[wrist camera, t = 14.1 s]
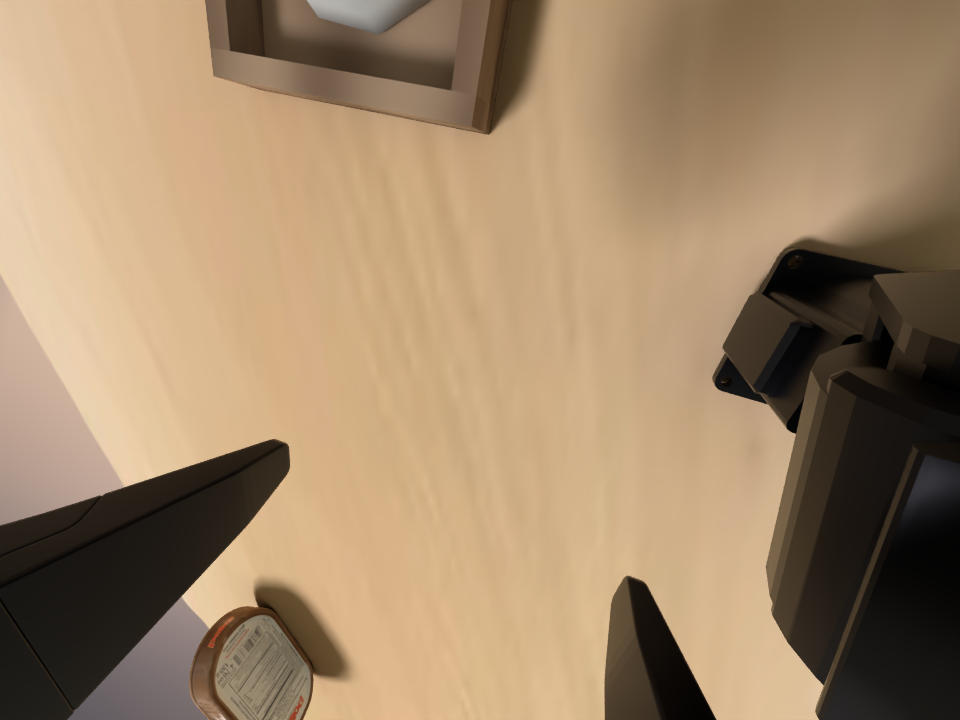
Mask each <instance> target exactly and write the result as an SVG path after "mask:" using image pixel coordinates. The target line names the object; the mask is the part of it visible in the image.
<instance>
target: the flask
mask: <svg viewBox="0 0 960 720" xmlns="http://www.w3.org/2000/svg"><path fill="white" fill-rule="evenodd" d="M307 1H308V3H309V4H310V6H311V7H312V9H313V10H314V12H315V13H316V15H317V16H318V17H319V18H322V19H326V20H329V21H332V22H336V23H339V24H343V25H346V26H350V27H353V28H356V29H360V30H363V31H367V32H370V33H374V34H377V35H379V34H381V33H382V32H384V31H385V30H387V29H388V28H390V27H391V26H393V25H394V24H395V23H397V22H398V21H400V20H401V19H403V18H404V17H406V16H407V15H409V14H410V13H412V12H413V11H415V10H416V9H418V8H419V7H420V6H422V5H423V4H425V3H426V2H428V1H429V0H307Z"/></svg>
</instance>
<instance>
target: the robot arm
mask: <svg viewBox="0 0 960 720" xmlns="http://www.w3.org/2000/svg"><path fill="white" fill-rule="evenodd" d="M793 256H798V258H799V260H798V263H797V264H796V265H794V266H792V267H788V265H787V263H788V260H789V259H790V258H791V257H793ZM723 350H724V352H725V354H724V356H723V358H722V360H721V362H720V364H719V365H718V367H717V369H716V371H715V373H714V375H713V378H712V379H713V383H714V384H715V386H716V387H717V389H719V390H721V391H724V392H727V393H730V394H734V395H737V396H741V397H744V398H748V399H751V400H755V401H758V402H762V403H765V404H768V405H769V406H770V407H771V409H772V410H773V411H774V413H775V414H776V415H777V416H778V418H779V419H780V420H781V422H782V423H783V424H784V426H785V427H786V428H787V429H788V430H789V431H790V432H792V433H795V434H796V437H795V441H794V446H793V450H792V454H791V459H790V463H789V468H788V472H787V476H786V481H785V485H784V490H783V494H782V498H781V503H780V507H779V512H778V516H777V520H776V525H775V529H774V534H773V538H772V542H771V547H770V551H769V556H768V560H767V564H766V571H767V578H768V586H769V593H770V597H771V600H772V602H773V605H772V609H771V611H772V615H773V617H774V619H775V621H776V623H777V624H778V626H779V628H780V630H781V631H782V633H783V635H784V637H785V639H786V640H787V642H788V643H789V645H790V646H791V647H792V648H793V650H794V651H795V652H796V653H797V655H798V656H799V657H800V658H801V660H802V661H803V662H804V663H805V664H806V666H807V667H808V668H809V669H810V671H811V672H812V673H813V674H814V676H815V677H816V678H817V679H818V680H819V681H820V682H821V683H822V684H823V685H824V687H823V689H822V692H821V695H820V698H819V700H818V703H817V706H816V711H815V712H816V715H817V717H818V718H819V720H960V270H949V271H931V272H912V273H910V272H905V271H901V270H896V269H891V268H887V267H882V266H878V265H873V264H869V263H864V262H860V261H855V260H850V259H846V258H841V257H837V256H832V255H828V254H823V253H819V252H814V251H809V250H805V249H800V248H790V249H786V250H785V251H783V252H782V253H780V255H779V256H778V257H777V259H776V261H775V263H774V264H773V266H772V268H771V270H770V272H769V274H768V275H767V277H766V279H765V281H764V283H763V285H762V286H761V288H760V290H759V292H756V293H754V294H752V295H750V296H749V298H748V300H747V302H746V303H745V305H744V307H743V309H742V311H741V313H740V315H739V316H738V318H737V320H736V322H735V324H734V326H733V328H732V330H731V331H730V333H729V335H728V337H727V339H726V341H725V343H724V344H723ZM725 377H731V380H730V381H729V382H727V383H722V382H721V380H722V379H723V378H725ZM289 469H290V455H289V446H288V444H287V443H284V442H282V441H279V440H276V439H271V440H268V441H265V442H262V443H259V444H256V445H253V446H250V447H246V448H243V449H240V450H237V451H234V452H231V453H228V454H225V455H222V456H219V457H216V458H213V459H210V460H207V461H204V462H201V463H198V464H194V465H191V466H188V467H185V468H182V469H179V470H176V471H173V472H170V473H167V474H164V475H161V476H158V477H155V478H152V479H149V480H145V481H142V482H139V483H136V484H133V485H130V486H127V487H124V488H121V489H118V490H115V491H112V492H109V493H106V494H104V495H103V496H96V497H93V498H90V499H87V500H84V501H81V502H78V503H75V504H71V505H68V506H65V507H62V508H59V509H56V510H52V511H49V512H46V513H43V514H39V515H36V516H32V517H28V518H25V519H22V520H18V521H14V522H11V523H7V524H4V525H0V720H67V719H68V718H69V717H70V716H71V715H72V714H73V713H74V710H75V709H77V708H78V707H79V706H80V705H81V704H82V703H83V702H84V701H85V700H86V699H87V697H88V696H89V695H90V694H91V693H92V692H93V691H94V690H95V689H96V688H97V686H99V684H100V683H101V682H102V681H103V680H104V679H105V678H106V677H107V676H108V675H109V674H110V673H111V671H113V669H114V668H115V667H116V666H117V665H118V664H119V663H120V662H121V661H122V660H123V659H124V658H125V656H126V655H127V654H128V653H129V652H130V651H131V650H132V649H133V648H134V647H135V646H136V645H137V644H138V643H139V642H140V640H141V639H142V638H143V637H144V636H145V635H146V634H147V633H148V632H149V631H150V630H151V629H152V627H153V626H154V625H155V624H156V623H157V622H158V621H159V620H160V619H161V618H162V617H163V616H164V614H166V612H167V611H168V610H169V609H170V608H171V607H172V606H173V605H174V604H175V603H176V602H177V601H178V599H179V598H180V597H181V596H182V595H183V594H184V593H185V592H186V591H187V590H188V589H189V588H190V587H191V586H192V584H193V583H194V582H195V581H196V580H197V579H198V578H199V577H200V576H201V575H202V574H203V573H204V572H205V570H206V569H207V568H208V567H209V566H210V565H211V564H212V563H213V562H214V561H215V560H216V559H217V558H218V557H219V555H220V554H221V553H222V552H223V551H224V550H225V549H226V548H227V547H228V546H229V545H230V544H231V543H232V541H233V540H234V539H235V538H236V537H237V536H238V535H239V534H240V533H241V532H242V531H243V530H244V528H245V527H246V526H247V525H248V524H249V523H250V521H251V520H252V519H253V518H254V517H255V515H256V514H257V513H258V511H259V510H260V509H261V508H262V506H263V505H264V504H265V502H266V501H267V500H268V499H269V497H270V496H271V495H272V493H273V492H274V491H275V489H276V488H277V487H278V486H279V484H280V483H281V482H282V480H283V479H284V478H285V477H286V475H287V473H288V472H289ZM605 720H716V718H715V716H714V714H713V712H712V710H711V708H710V706H709V704H708V702H707V701H706V699H705V697H704V695H703V693H702V691H701V689H700V687H699V685H698V683H697V681H696V679H695V677H694V675H693V673H692V671H691V670H690V668H689V666H688V664H687V662H686V660H685V658H684V656H683V654H682V652H681V650H680V648H679V646H678V644H677V642H676V640H675V639H674V637H673V635H672V633H671V631H670V629H669V627H668V625H667V623H666V621H665V619H664V617H663V615H662V613H661V611H660V609H659V608H658V606H657V604H656V602H655V600H654V598H653V596H652V594H651V592H650V590H649V588H648V586H647V585H646V583H645V582H643V581H642V580H639V579H636V578H634V577H631V576H626V577H624V579H623V580H622V582H621V584H620V586H619V587H618V589H617V591H616V592H615V594H614V596H613V599H612V603H611V611H610V623H609V634H608V646H607V657H606V668H605Z"/></svg>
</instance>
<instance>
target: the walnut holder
mask: <svg viewBox="0 0 960 720" xmlns="http://www.w3.org/2000/svg"><path fill="white" fill-rule="evenodd" d="M205 3H206V12H207V21H208V30H209V39H210V48H211V57H212V66H213V75H214V76H215V77H218V78H222V79H225V80H229V81H232V82H236V83H239V84H242V85H246V86H249V87H253V88H256V89H260V90H265V91H270V92H275V93H280V94H285V95H290V96H295V97H300V98H305V99H310V100H315V101H320V102H326V103H331V104H336V105H341V106H346V107H351V108H356V109H361V110H366V111H371V112H376V113H381V114H386V115H391V116H397V117H402V118H407V119H412V120H417V121H422V122H427V123H432V124H437V125H442V126H447V127H452V128H457V129H462V130H467V131H473V132H478V133H483V134H488V135H489V132H490V126H491V120H492V114H493V108H494V103H495V97H496V91H497V85H498V79H499V73H500V68H501V62H502V56H503V50H504V44H505V39H506V33H507V27H508V21H509V15H510V9H511V4H512V0H429V1H428V2H426V3H425V4H423V5H422V6H420V7H419V8H418V9H416V10H415V11H413V12H412V13H410V14H409V15H407V16H406V17H404V18H403V19H401V20H400V21H398V22H397V23H395V24H394V25H393V26H391V27H390V28H388V29H387V30H385V31H384V32H382V33H381V34H379V35H377V34H374V33H370V32H367V31H363V30H360V29H356V28H353V27H350V26H346V25H343V24H339V23H336V22H332V21H329V20H326V19H322V18H319V17H318V16H317V15H316V13H315V12H314V10H313V9H312V7H311V6H310V4H309V3H308V1H307V0H205Z"/></svg>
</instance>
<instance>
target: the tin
mask: <svg viewBox="0 0 960 720" xmlns="http://www.w3.org/2000/svg"><path fill="white" fill-rule="evenodd" d="M189 688H190V694H191V697H192V700H193V701H194V703H195V704H196V706H197V707H198V708H199V709H200V710H201V712H202V713H203V714H204V715H205V716H206V717H207V718H208V720H303V718H304V716H305V714H306V711H307V709H308V707H309V704H310V701H311V697H312V691H313V671H312V666H311V664H310V662H309V660H308V658H307V657H306V655H305V654H304V652H303V651H302V650H301V648H300V647H299V645H298V644H297V642H296V641H295V639H294V638H293V637H292V635H291V634H290V632H289V631H288V629H287V628H286V626H285V625H284V623H283V622H282V620H281V619H280V618H279V616H278V615H277V614H276V613H275V612H274V611H272V610H270V609H268V608H262V607H249V606H246V607H240V608H237V609H234V610H232V611H230V612H229V613H227V614H226V615H224V616H223V617H221V618H220V619H219V620H218V621H217V622H216V623H215V624H214V625H213V626H212V627H211V628H210V630H209V631H208V632H207V634H206V635H205V637H204V638H203V640H202V641H201V643H200V645H199V647H198V649H197V651H196V654H195V656H194V659H193V662H192V665H191V670H190V678H189Z"/></svg>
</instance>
